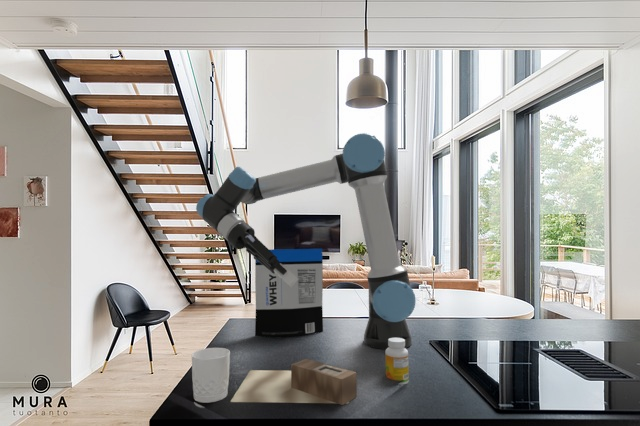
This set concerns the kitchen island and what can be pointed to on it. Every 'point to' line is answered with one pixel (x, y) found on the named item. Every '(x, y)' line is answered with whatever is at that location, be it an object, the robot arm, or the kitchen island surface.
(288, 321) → the protein powder
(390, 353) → the supplement bottle
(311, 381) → the block
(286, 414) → the kitchen island surface
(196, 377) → the white cup
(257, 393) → the board
